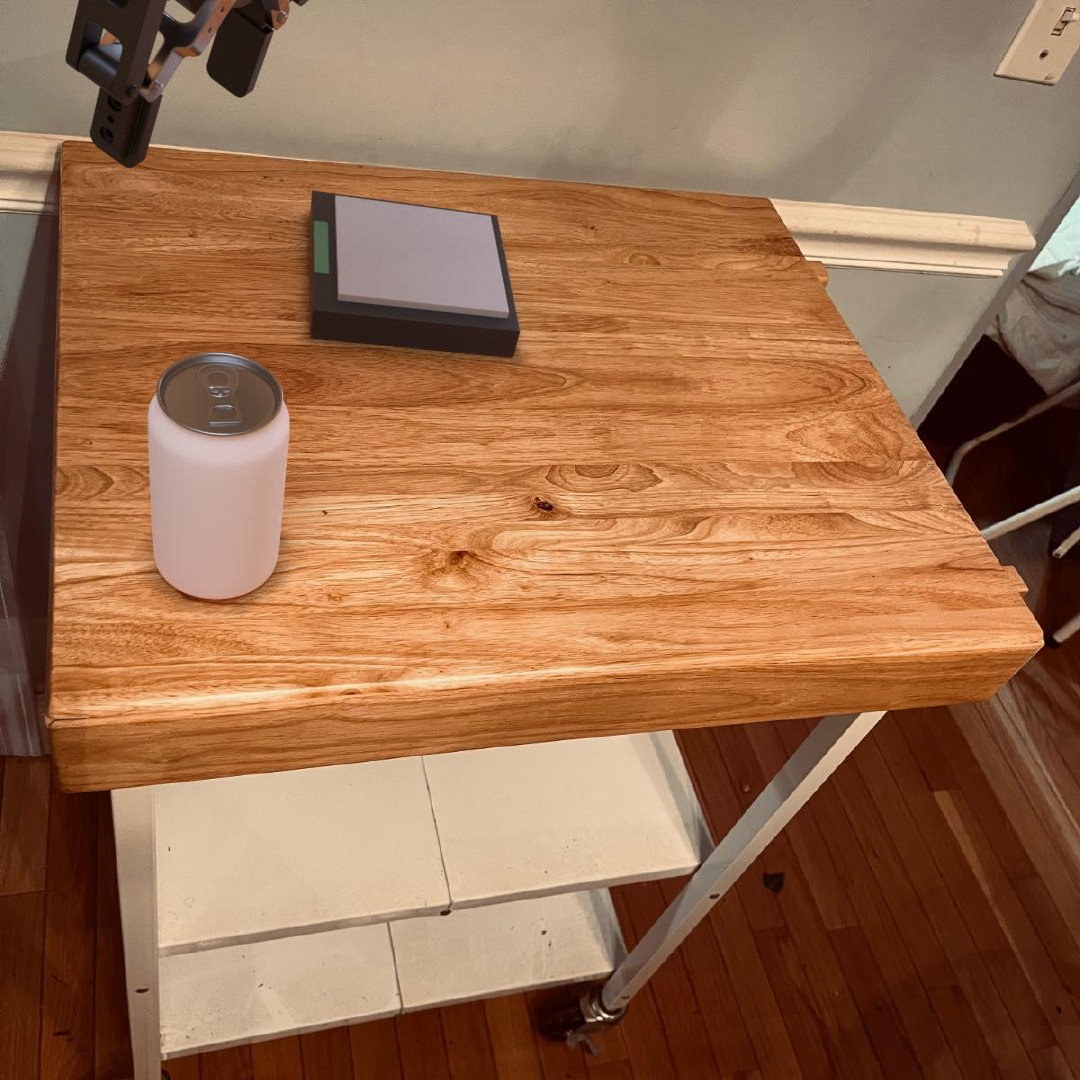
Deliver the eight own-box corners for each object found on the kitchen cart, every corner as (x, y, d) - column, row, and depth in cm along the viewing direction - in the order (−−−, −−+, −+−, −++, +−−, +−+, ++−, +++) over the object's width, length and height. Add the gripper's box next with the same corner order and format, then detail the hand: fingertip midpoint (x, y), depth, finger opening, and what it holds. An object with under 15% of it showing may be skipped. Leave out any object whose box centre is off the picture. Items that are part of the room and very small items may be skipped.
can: (269, 508, 61) (281, 345, 52) (286, 598, 57) (303, 438, 48) (148, 516, 59) (140, 346, 50) (158, 610, 55) (151, 444, 46)
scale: (310, 338, 71) (313, 302, 69) (309, 218, 80) (312, 182, 78) (513, 358, 75) (522, 324, 73) (491, 241, 84) (499, 208, 82)
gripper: (300, -351, 41) (194, 18, 52) (52, -326, 31) (-11, 122, 42) (461, -220, 42) (322, 114, 53) (270, -156, 32) (150, 238, 43)
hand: (174, 117), depth 48 cm, fingers open, 8 cm apart
